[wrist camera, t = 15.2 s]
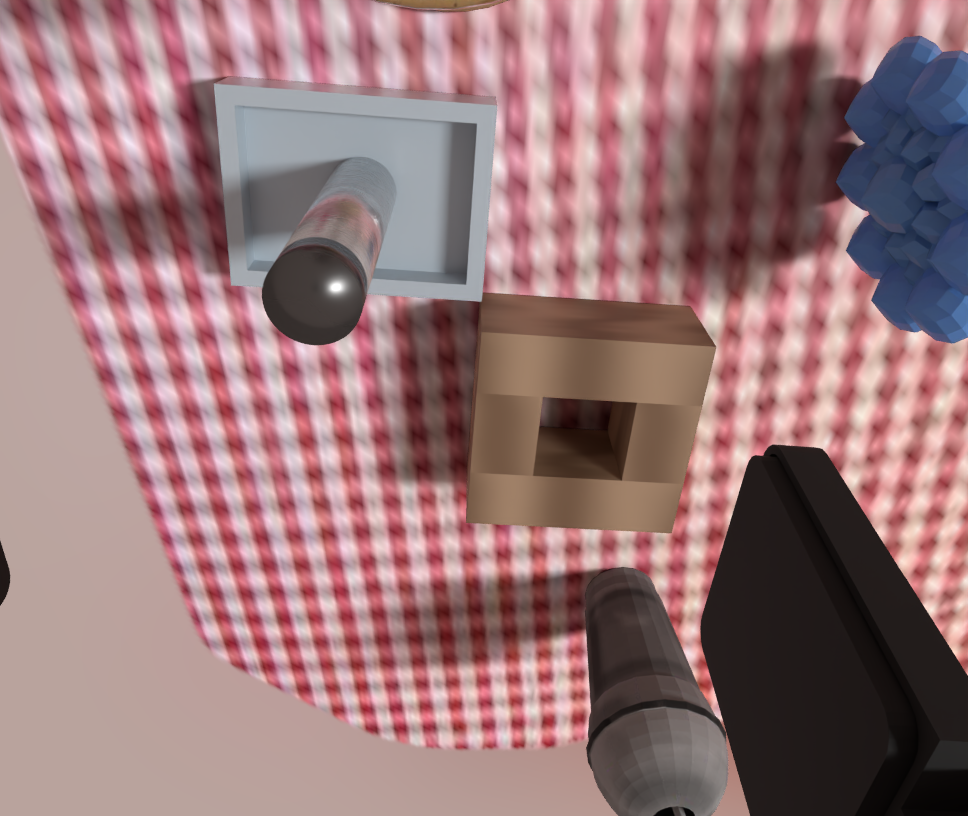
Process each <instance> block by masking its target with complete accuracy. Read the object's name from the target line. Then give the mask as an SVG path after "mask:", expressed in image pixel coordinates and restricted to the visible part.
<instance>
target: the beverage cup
mask: <svg viewBox="0 0 968 816" xmlns="http://www.w3.org/2000/svg"><path fill="white" fill-rule="evenodd" d="M585 597H586V611H585V617H586V634H587V651H588V668H589V685H590V702H591V714H590V717H589V729H588V738H589V742H588V745H587V747H586V749H587V757H588V763H589V765H590V767H591V769H592V771H593V773H594V778H595V780H596V783H597V785H598V788H599V789H600V791H601V793H602V794H603V796H604V798H605V799H606V801H607V802H608V803H609V805H610V806H611V808H612V809H613V810H614V811H615V812H616V814H617V815H618V816H711V815H712V814H713V813H714V812H715V810H716V808H717V807H718V805H719V803H720V801H721V799H722V796H723V795H724V792H725V789H726V786H727V780H728V752H727V746H726V732H725V730H724V728H723V726H722V724H721V722H720V720H719V719H718V718H717V717H716V716H715V714H714V713H713V711H712V709H711V707H710V705H709V704H708V702H707V700H706V698H705V697H704V695H703V693H702V692H701V691H700V689H699V687H698V685H697V682H696V680H695V678H694V675H693V673H692V670H691V668H690V666H689V663H688V661H687V659H686V656H685V654H684V652H683V649H682V647H681V645H680V642H679V640H678V638H677V635H676V633H675V631H674V628H673V626H672V624H671V621H670V619H669V616H668V614H667V612H666V609H665V607H664V605H663V602H662V600H661V599H660V597H659V595H658V594H657V592H656V590H655V587H654V584H653V583H652V581H651V579H650V578H649V577H648V576H647V575H646V574H645V573H643V572H641V571H638V570H636V569H632V568H624V567H623V568H615V569H610V570H608V571H605V572H603V573H601V574H599V575H598V576H597V577H595V578H594V579H593V580H592V581H591V583H590V584H589V585H588V587H587V590H586V594H585Z"/></svg>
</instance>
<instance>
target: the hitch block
mask: <svg viewBox="0 0 968 816" xmlns="http://www.w3.org/2000/svg"><path fill="white" fill-rule="evenodd" d="M715 351H716V346H715V344H714V342H713V341H712V339H711V338H710V336H709V335H708V333H707V331H706V330H705V328H704V327H703V325H702V324H701V322H700V320H699V319H698V317H697V316H696V314H695V313H694V311H693V309H692V308H691V306H677V305H662V304H647V303H631V302H616V301H601V300H586V299H571V298H555V297H540V296H525V295H510V294H494V293H482V302H480V306H479V319H478V332H477V345H476V358H475V371H474V384H473V397H472V410H471V423H470V436H469V449H468V462H467V508H466V523H482V524H501V525H521V526H540V527H559V528H579V529H598V530H618V531H637V532H656V533H672V529H673V525H674V521H675V516H676V512H677V508H678V504H679V500H680V496H681V492H682V487H683V483H684V479H685V475H686V471H687V467H688V463H689V458H690V454H691V450H692V446H693V442H694V438H695V433H696V429H697V425H698V421H699V417H700V413H701V409H702V404H703V400H704V396H705V392H706V388H707V384H708V380H709V375H710V371H711V367H712V363H713V359H714V355H715ZM543 397H550V398H567V399H584V400H601V401H612V407H611V413H610V418H609V424H608V430H607V431H606V430H589V429H572V428H554V427H539V424H540V416H541V408H542V400H543Z"/></svg>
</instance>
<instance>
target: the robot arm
mask: <svg viewBox="0 0 968 816" xmlns="http://www.w3.org/2000/svg"><path fill="white" fill-rule="evenodd" d="M9 584H10V571H9V567H8V564H7V561H6V558H5V555H4V551H3V548H2V545H1V542H0V605H1V604H2V602H3V600H4V599H5V597H6V595H7V592H8V589H9ZM701 643H702V648H703V652H704V655H705V659H706V662H707V666H708V669H709V673H710V676H711V680H712V683H713V687H714V690H715V694H716V697H717V701H718V704H719V708H720V711H721V715H722V718H723V722H724V725H725V729H726V732H727V736H728V739H729V743H730V746H731V750H732V753H733V757H734V760H735V764H736V767H737V771H738V774H739V777H740V781H741V785H742V788H743V792H744V795H745V799H746V802H747V806H748V809H749V813H750V816H968V675H967V674H966V672H965V671H964V669H963V668H962V666H961V664H960V663H959V661H958V660H957V658H956V656H955V655H954V653H953V652H952V650H951V649H950V647H949V645H948V644H947V642H946V641H945V639H944V638H943V636H942V634H941V633H940V631H939V630H938V628H937V627H936V625H935V623H934V622H933V620H932V619H931V617H930V615H929V614H928V612H927V611H926V609H925V608H924V606H923V604H922V603H921V601H920V600H919V598H918V597H917V595H916V593H915V592H914V590H913V589H912V587H911V585H910V584H909V582H908V581H907V579H906V578H905V576H904V575H903V573H902V572H901V570H900V569H899V567H898V566H897V564H896V562H895V561H894V559H893V558H892V556H891V555H890V553H889V551H888V550H887V548H886V547H885V545H884V543H883V542H882V540H881V539H880V537H879V536H878V534H877V532H876V531H875V529H874V528H873V526H872V525H871V523H870V521H869V520H868V518H867V517H866V515H865V513H864V512H863V510H862V509H861V507H860V506H859V504H858V502H857V501H856V499H855V498H854V496H853V494H852V493H851V491H850V490H849V488H848V487H847V485H846V483H845V482H844V480H843V479H842V477H841V476H840V474H839V472H838V471H837V469H836V468H835V466H834V464H833V463H832V461H831V460H830V458H829V457H828V455H827V454H826V453H825V451H824V450H823V449H820V448H814V447H800V446H786V445H771V446H769V447H768V448H767V450H766V451H765V453H764V455H763V456H757V455H755V456H753V457H752V458H751V459H750V460H749V463H748V465H747V468H746V471H745V475H744V478H743V481H742V485H741V488H740V491H739V495H738V498H737V501H736V505H735V508H734V511H733V515H732V518H731V521H730V525H729V528H728V531H727V535H726V538H725V541H724V545H723V548H722V551H721V555H720V558H719V561H718V565H717V568H716V571H715V575H714V578H713V581H712V585H711V588H710V591H709V595H708V598H707V601H706V605H705V608H704V611H703V615H702V619H701Z"/></svg>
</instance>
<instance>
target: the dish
mask: <svg viewBox="0 0 968 816" xmlns="http://www.w3.org/2000/svg"><path fill="white" fill-rule="evenodd" d="M214 92H215V104H216V115H217V127H218V138H219V150H220V162H221V173H222V185H223V196H224V208H225V219H226V231H227V242H228V254H229V265H230V277H231V285H234V286H250V287H263V283H264V280H265V277H266V275H267V273H268V272H269V270H270V268H271V267H272V265H273V264H274V262H275V261H276V259H277V258H278V256H279V254H280V253H281V251H282V250H283V248H284V247H285V245H286V244H287V242H288V241H289V239H290V237H291V236H292V234H293V233H294V231H295V230H296V228H297V227H298V225H299V223H300V222H301V220H302V219H303V217H304V216H305V214H306V213H307V211H308V209H309V208H310V206H311V205H312V203H313V202H314V200H315V199H316V197H317V195H318V194H319V192H320V191H321V189H322V188H323V186H324V185H325V183H326V181H327V180H328V178H329V177H330V175H331V174H332V172H333V171H334V169H335V168H336V167H337V166H338V165H339V164H340V163H341V162H343V161H345V160H347V159H349V158H353V157H367V158H371V159H373V160H376V161H377V162H379V163H381V164H382V165H383V166H384V167H385V168H386V169H387V170H388V171H389V172H390V174H391V175H392V177H393V179H394V182H395V185H396V192H397V195H396V202H395V205H394V209H393V212H392V215H391V218H390V222H389V225H388V228H387V231H386V235H385V238H384V241H383V244H382V248H381V251H380V254H379V257H378V261H377V264H376V267H375V270H374V274H373V277H372V280H371V283H370V287H369V290H368V293H367V294H372V295H388V296H403V297H418V298H434V299H449V300H464V301H480V302H482V292H483V280H484V267H485V254H486V241H487V229H488V216H489V203H490V190H491V178H492V165H493V152H494V139H495V127H496V114H497V102H496V97H490V96H477V95H464V94H451V93H438V92H425V91H413V90H400V89H387V88H374V87H361V86H348V85H335V84H323V83H310V82H297V81H284V80H271V79H258V78H246V77H233V76H229V77H227V78H225V79H223V80H221V81H218V82H216V83H214Z"/></svg>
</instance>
